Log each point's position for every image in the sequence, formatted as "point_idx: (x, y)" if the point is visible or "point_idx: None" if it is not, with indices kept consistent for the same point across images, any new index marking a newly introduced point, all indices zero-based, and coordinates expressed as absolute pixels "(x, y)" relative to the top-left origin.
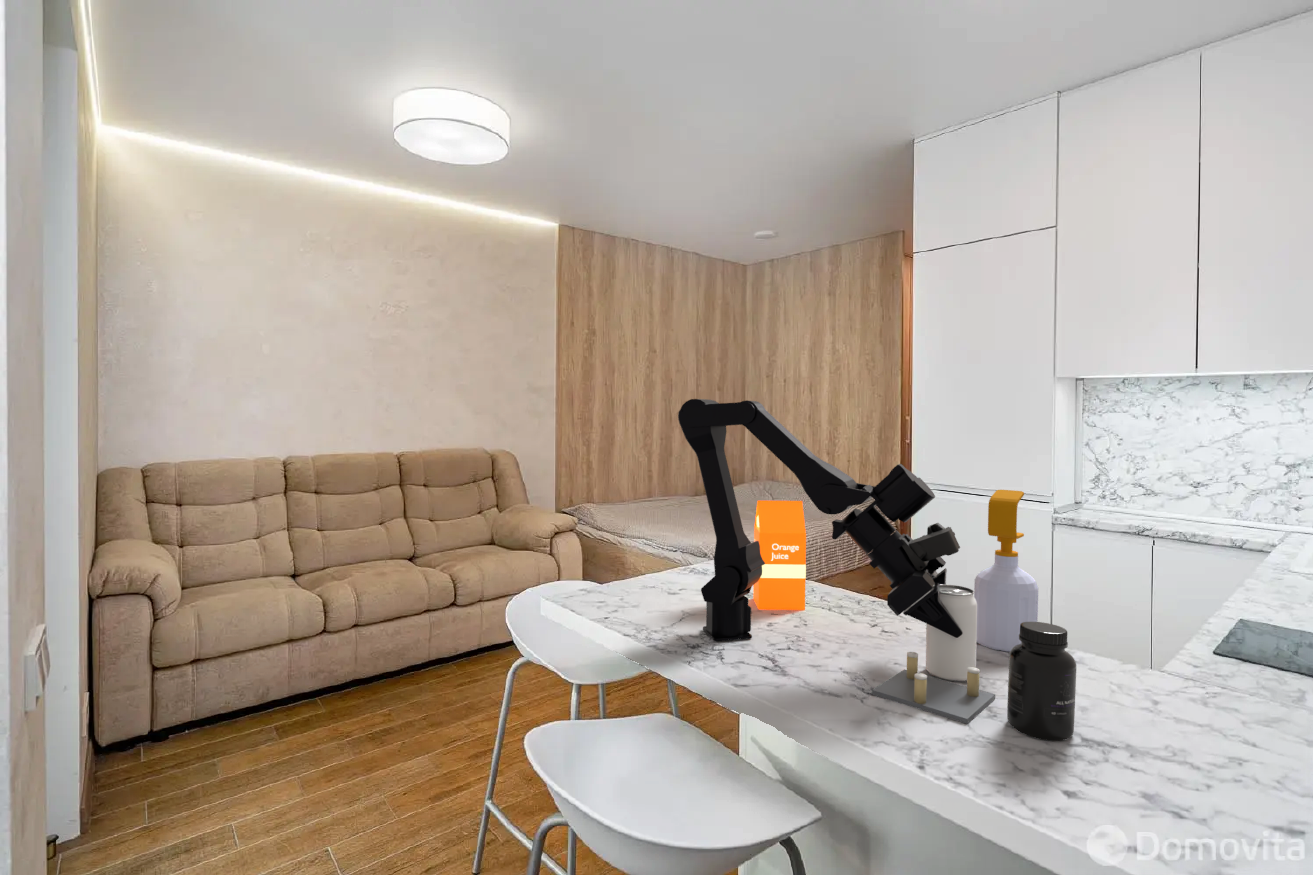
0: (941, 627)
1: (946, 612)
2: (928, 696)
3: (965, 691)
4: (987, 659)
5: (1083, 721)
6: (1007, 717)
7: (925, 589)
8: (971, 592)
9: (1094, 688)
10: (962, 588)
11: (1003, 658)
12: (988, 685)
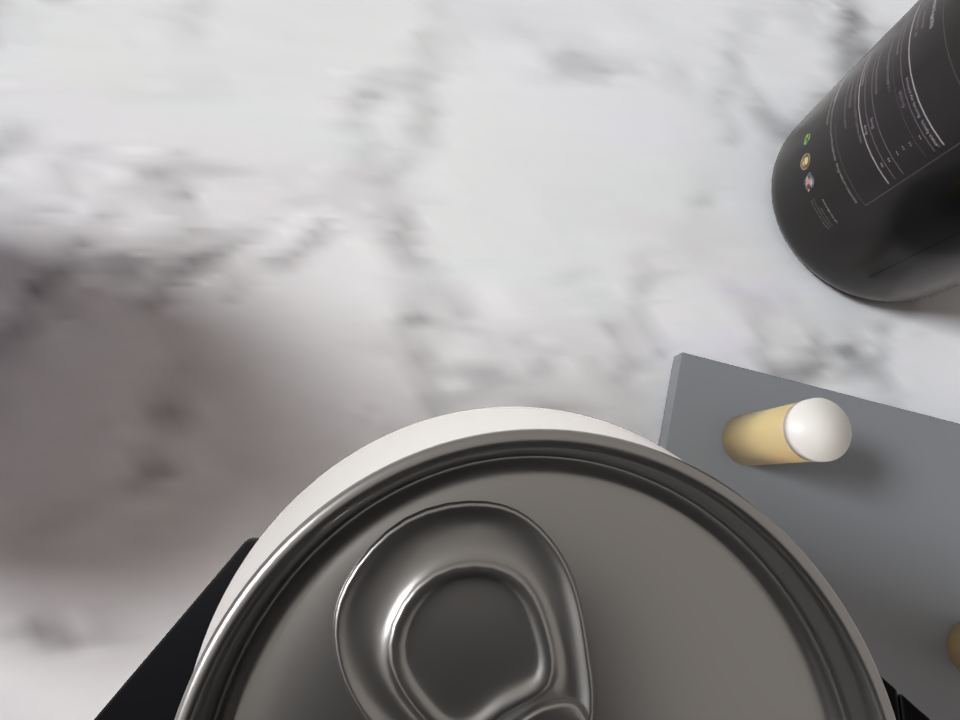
0: None
1: (916, 710)
2: (891, 622)
3: (730, 473)
4: (124, 419)
5: (703, 75)
6: (917, 298)
7: None
8: (405, 480)
9: (322, 6)
10: (239, 651)
11: (67, 344)
12: (525, 391)
